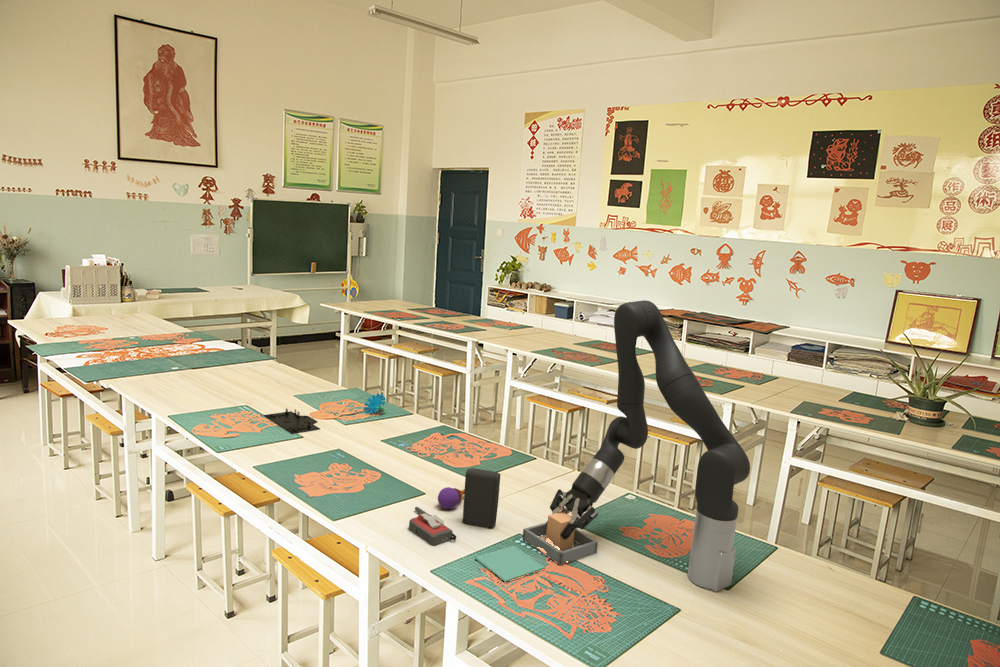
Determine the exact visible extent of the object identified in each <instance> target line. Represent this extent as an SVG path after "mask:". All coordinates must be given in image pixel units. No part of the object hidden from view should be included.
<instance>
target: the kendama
mask: <svg viewBox="0 0 1000 667" xmlns="http://www.w3.org/2000/svg"><path fill="white" fill-rule="evenodd" d="M464 490H465V488H463V489H462V490H461V489H458V488H455V487H454V488H453V487H451V486H449V487H448V486H447V487H444V488H442V489H441V490H440V491H439V493H438V495H437V503H438V504H439V506H440V507H441V508H442V509H445V510H450V509H454V508H456V507H457V505H458V504H459V502H460V501H461V499H463V498H462V497H464Z"/></svg>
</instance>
